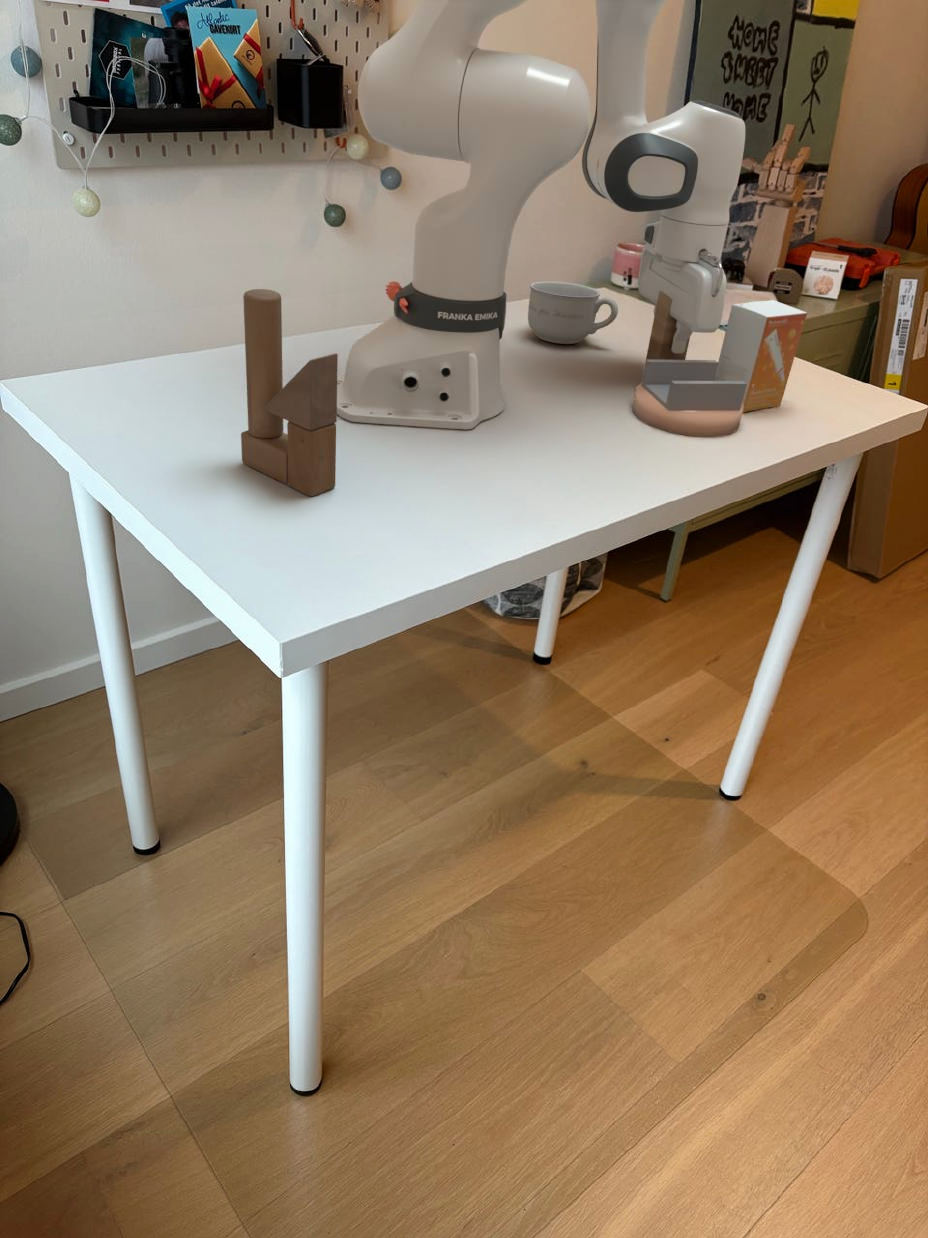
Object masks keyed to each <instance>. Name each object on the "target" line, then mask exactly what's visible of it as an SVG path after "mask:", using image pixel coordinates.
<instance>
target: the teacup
mask: <svg viewBox="0 0 928 1238" xmlns="http://www.w3.org/2000/svg"><path fill="white" fill-rule="evenodd" d="M529 287H530V292H529V293H530V294H529V301H528V309H527V321H528V322H527V323H528V326H529V327H530V329H531V330H532V332H534V333H535V335H536V337H538V339H540V340H543V341H545V342H550V343H553V344H559V345H561V344H562V345H572V344H577V343H580V342H581V341H582V340H583V339H585V338H586V337H588V336H589V335H594V334H596V332H597V331H599V330H600V329H603V328H605V327H608V326H609V325H611V324H613V322H614V321H615V319H616V318H617V316H618V312H619V308H618V303H617V301H615V300H614V299H613V298H611V297H608V296H607V297H606V296H605V297H601V298H600V296H601V292H600V291H599V290H598V289H595V288H594V287H591V286H586V285H584V284H579V283H572V282H566V281H565V282H564V281H553V280H551V281H549V280H548V281H537V282H532V283H531V284H530V285H529ZM603 305H608V306H609V308H610V314H609V315H608V317H607V318H606V319H604V320H602V321H600V322H596V323H595V320H596V317H597V313H599V310H600V308H601V307H602V306H603Z"/></svg>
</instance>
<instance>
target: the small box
mask: <svg viewBox="0 0 928 1238" xmlns="http://www.w3.org/2000/svg"><path fill="white" fill-rule="evenodd" d="M807 315H808V312H806V311H804V310H801V309H799V308H797V307H794V306H791V305H788V304H785V303H782V302H779V301H777V300H775V299H771V300H770V299H769V300H762V301H760V300H759V301H758V300H757V301H749V302H743V303H732V304H731V308H730V312H729V315H728V316H729V317H728V320H727V324H726V330H725V333H724V337H723V342H722V346H721V348H720V349H721V350H720V354H719V356H718V357H719V358H718V361H717V362H718V367H717V371H716V375H715V379H714V381H744V382H745V383H746V384H747V385H746V389H745V393H744V397H743V401H742V403H743V405H744V409H743V413H745V412H751V411H756V410H757V411H758V410H762V409H768V408H773V407H774V408H775V407H776V408H777V407H780V406H781V404H782V401H783V398H784V394H785V390H786V387H787V385H788V380H789V376H790V374H791V371H792V367H793V364H794V360H795V357H796V353H797V350H798V346H799V343H800V339H801V335H802V333H803V329H804V326H805V322H806V319H807Z"/></svg>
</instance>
